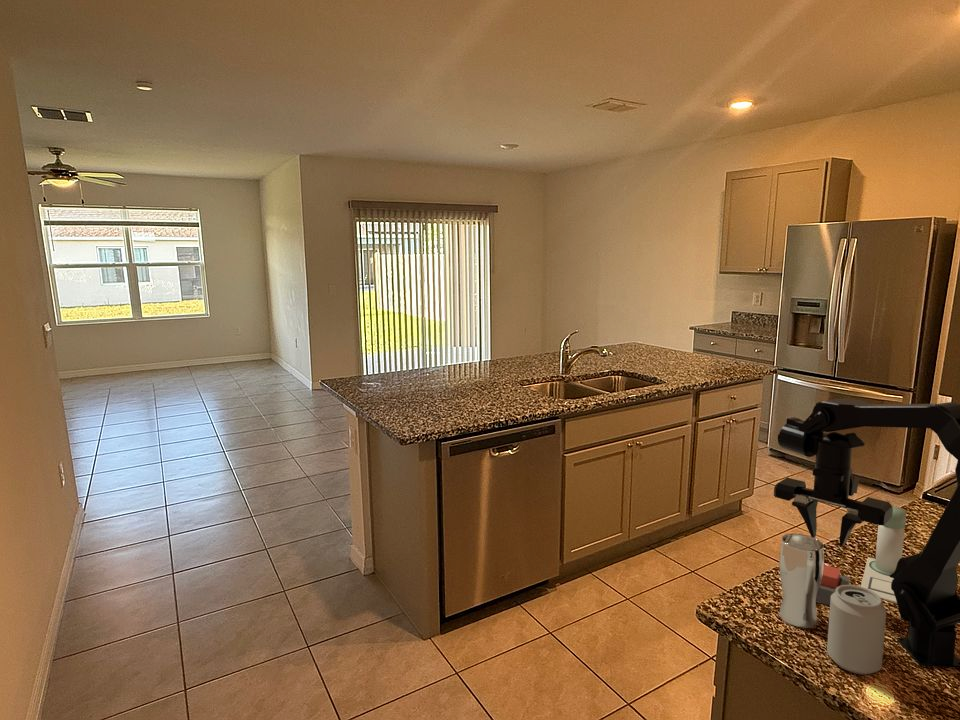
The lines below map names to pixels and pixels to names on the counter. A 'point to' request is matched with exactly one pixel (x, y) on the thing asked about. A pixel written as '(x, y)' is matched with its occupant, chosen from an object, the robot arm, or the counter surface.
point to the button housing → (830, 591)
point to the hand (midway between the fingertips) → (827, 541)
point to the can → (856, 629)
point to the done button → (830, 577)
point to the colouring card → (878, 581)
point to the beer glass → (800, 578)
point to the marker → (890, 541)
